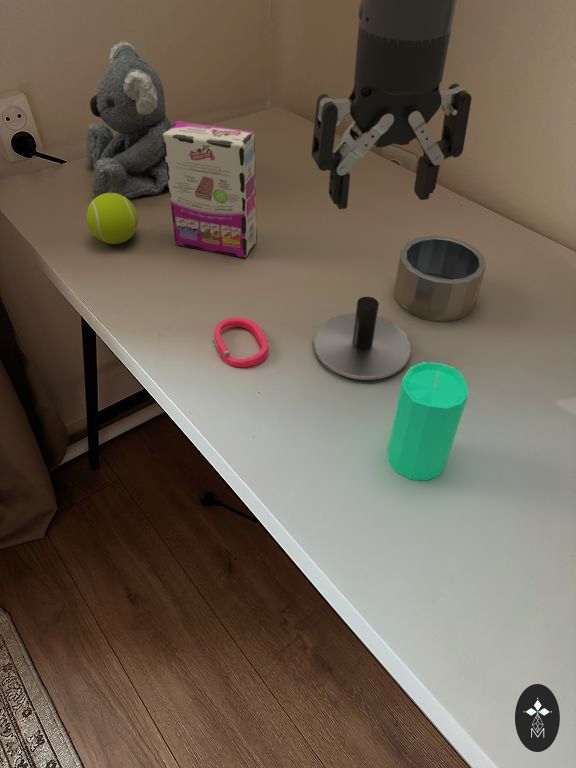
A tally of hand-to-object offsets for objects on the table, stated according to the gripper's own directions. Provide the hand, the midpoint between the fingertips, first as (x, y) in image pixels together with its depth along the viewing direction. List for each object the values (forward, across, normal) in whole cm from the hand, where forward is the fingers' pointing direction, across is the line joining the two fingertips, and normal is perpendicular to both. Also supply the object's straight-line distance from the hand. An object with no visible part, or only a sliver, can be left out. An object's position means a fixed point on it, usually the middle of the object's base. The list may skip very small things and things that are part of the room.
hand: (381, 200), depth 63 cm
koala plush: (+20, -22, +49) cm, 57 cm away
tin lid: (+19, 0, -1) cm, 19 cm away
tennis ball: (+20, -28, +30) cm, 45 cm away
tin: (+20, +13, +7) cm, 24 cm away
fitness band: (+20, -14, +3) cm, 24 cm away
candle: (+19, 0, -18) cm, 26 cm away
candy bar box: (+20, -14, +26) cm, 35 cm away
